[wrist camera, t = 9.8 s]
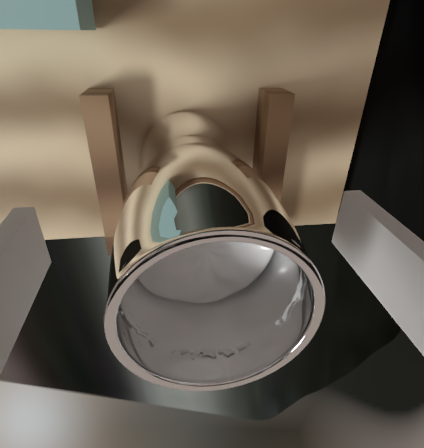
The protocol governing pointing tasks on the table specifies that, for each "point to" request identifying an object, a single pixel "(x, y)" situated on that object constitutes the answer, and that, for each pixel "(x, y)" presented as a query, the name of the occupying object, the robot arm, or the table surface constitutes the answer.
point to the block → (47, 14)
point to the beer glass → (206, 267)
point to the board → (183, 101)
